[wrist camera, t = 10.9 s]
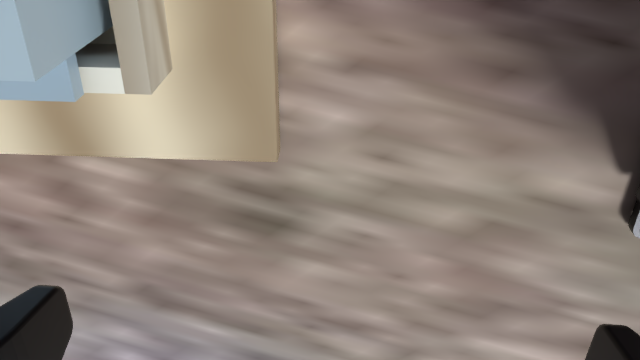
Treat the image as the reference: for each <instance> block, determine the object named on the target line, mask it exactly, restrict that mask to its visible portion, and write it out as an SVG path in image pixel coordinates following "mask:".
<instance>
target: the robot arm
mask: <svg viewBox="0 0 640 360" xmlns="http://www.w3.org/2000/svg"><path fill="white" fill-rule="evenodd" d="M636 198H637V201H636V204H635V207H634V210H633V212H632V215H631V218H630V221H629V228H630V230H631V231H632V233H633V234H634V235H635V236H636V237H638V238H640V185H639V188H638V191H637V193H636ZM72 329H73V321H72V317H71V313H70V309H69V306H68V302H67V298H66V294H65V292H64V290H63V289H62V288H61V287H59V286H50V285H37V286H34V287H32V288H31V289H29V290H27V291H26V292H24V293H22V294H21V295H19V296H17V297H16V298H14V299H12V300H10V301H9V302H7V303H5V304H4V305H2V306H0V360H62V358H63V355H64V353H65V350H66V348H67V345H68V342H69V340H70V337H71V334H72ZM585 360H640V336H639V335H638V334H637V333H636V332H634V331H633V330H632V329H630V328H629V327H627V326H624V325H612V324H602V325H600V326H599V327H598V328H597V330H596V332H595V334H594V337H593V340H592V342H591V345H590V347H589V350H588V353H587V355H586V358H585Z"/></svg>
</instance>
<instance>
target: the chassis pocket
mask: <svg viewBox="0 0 640 360" xmlns="http://www.w3.org/2000/svg"><path fill="white" fill-rule="evenodd" d="M108 1H109V7H110V12H111V18H112V24H113V26H112V27H111V28H109V29H108V30H107V31H105V32H104V33H102V34H101V35H100V36H98V37H97V38H95V39H94V40H93V41H91V42H90V43H88V44H87V45H86V46H84V47H83V48H82V49H80V50H79V51H77V52H76V53H75V54H76V58H77V63H78V68H79V72H80V77H81V82H82V86H83V91H84V95H83V96H82V97H80V98H79V99H78V100H77V101H76V102H61V101H27V100H0V154H32V155H64V156H97V157H129V158H161V159H193V160H226V161H258V162H277V161H278V157H279V152H280V127H279V91H278V55H277V20H276V0H108Z"/></svg>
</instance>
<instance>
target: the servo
mask: <svg viewBox="0 0 640 360" xmlns="http://www.w3.org/2000/svg"><path fill="white" fill-rule="evenodd" d="M112 26H113V24H112V18H111V12H110V7H109V1H108V0H0V100H27V101H61V102H76V101H77V100H78V99H79V98H80V97H82V96H83V95H84V91H83V86H82V82H81V77H80V72H79V68H78V63H77V58H76V54H75V53H76V52H77V51H79V50H80V49H82V48H83V47H84V46H86V45H87V44H88V43H90V42H91V41H93V40H94V39H95V38H97V37H98V36H100V35H101V34H102V33H104V32H105V31H107V30H108V29H109V28H111V27H112Z"/></svg>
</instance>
